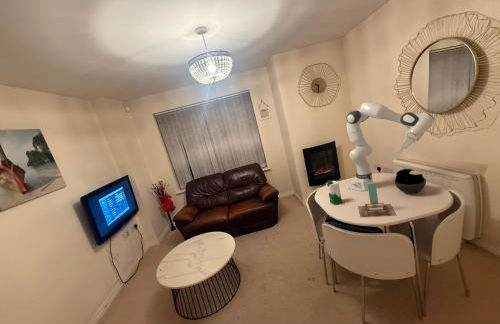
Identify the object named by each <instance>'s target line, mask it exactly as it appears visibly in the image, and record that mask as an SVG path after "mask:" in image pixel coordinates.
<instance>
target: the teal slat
mask: <svg viewBox="0 0 500 324" xmlns="http://www.w3.org/2000/svg"><path fill="white" fill-rule="evenodd" d="M367 185H368V190H367V191H368V198H369V204H379V203H380V202H379V198H378V191H377V184H376V182H375V181H373V182H370V183H367Z"/></svg>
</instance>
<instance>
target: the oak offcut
mask: <svg viewBox="0 0 500 324" xmlns="http://www.w3.org/2000/svg"><path fill="white" fill-rule="evenodd" d="M369 204H370V203H369ZM381 207H383V208H384V205H383V204H370V205H367V208H368V209H370V208H381Z"/></svg>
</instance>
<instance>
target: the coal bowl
mask: <svg viewBox="0 0 500 324" xmlns="http://www.w3.org/2000/svg"><path fill="white" fill-rule="evenodd" d="M412 171H414V169H411V168H402V169H400V170H399V171H396V176H395V178H394V185H395V186H396V187H397V189H399V191H401V192H403V193H405V194H417V193H419V192H421V191H423V189H424V188H425V186H426V185H427V179H426V178H425V177H424V175H423V174H422V173H418V174H413V173H411V172H412Z"/></svg>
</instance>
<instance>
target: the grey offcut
mask: <svg viewBox="0 0 500 324" xmlns="http://www.w3.org/2000/svg"><path fill="white" fill-rule="evenodd" d="M380 210H383V207H381V208H370V211H380Z"/></svg>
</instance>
